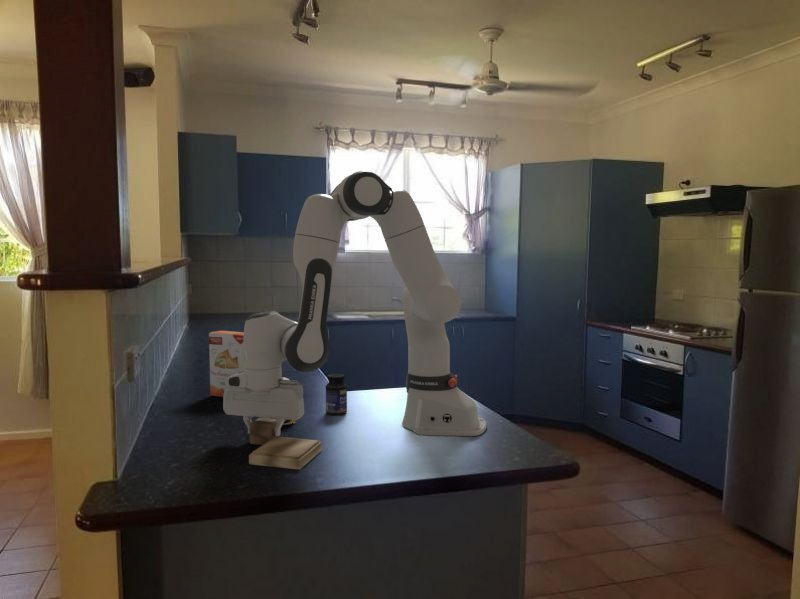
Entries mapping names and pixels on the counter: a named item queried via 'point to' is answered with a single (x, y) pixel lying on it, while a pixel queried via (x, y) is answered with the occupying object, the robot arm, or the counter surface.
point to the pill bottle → (336, 395)
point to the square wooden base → (286, 452)
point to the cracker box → (224, 358)
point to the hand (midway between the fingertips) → (264, 434)
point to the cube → (262, 430)
